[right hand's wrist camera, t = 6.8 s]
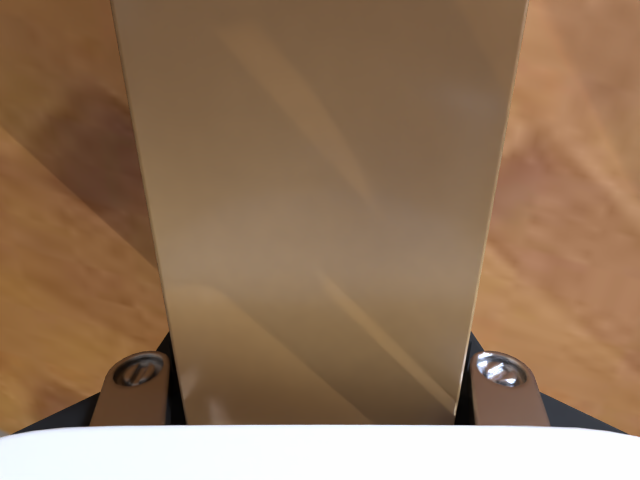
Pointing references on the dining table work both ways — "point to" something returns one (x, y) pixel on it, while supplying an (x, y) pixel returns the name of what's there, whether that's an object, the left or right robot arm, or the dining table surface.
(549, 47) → the dining table surface
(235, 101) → the beam
